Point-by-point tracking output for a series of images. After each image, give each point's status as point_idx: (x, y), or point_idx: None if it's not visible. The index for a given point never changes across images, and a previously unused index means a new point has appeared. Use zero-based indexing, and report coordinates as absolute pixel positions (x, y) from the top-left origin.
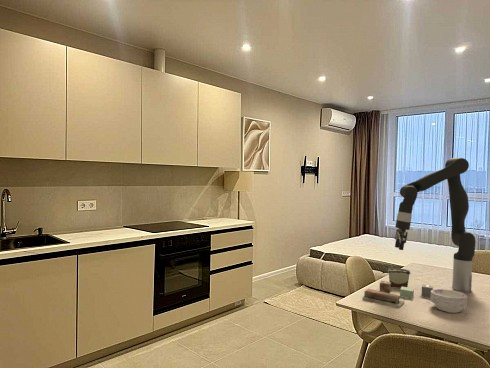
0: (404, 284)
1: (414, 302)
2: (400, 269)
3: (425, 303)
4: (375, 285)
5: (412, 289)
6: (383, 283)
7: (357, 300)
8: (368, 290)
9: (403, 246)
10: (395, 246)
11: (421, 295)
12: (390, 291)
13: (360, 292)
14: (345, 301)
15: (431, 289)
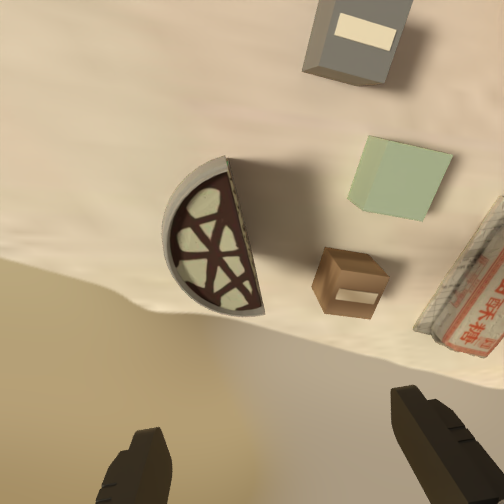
0: (232, 180)
1: (487, 146)
2: (169, 235)
3: (498, 86)
4: None
5: (414, 152)
6: (377, 303)
7: None
8: (481, 348)
9: (451, 438)
10: (170, 476)
11: (358, 85)
12: (331, 248)
13: (385, 353)
14: (500, 380)
15: (406, 8)
